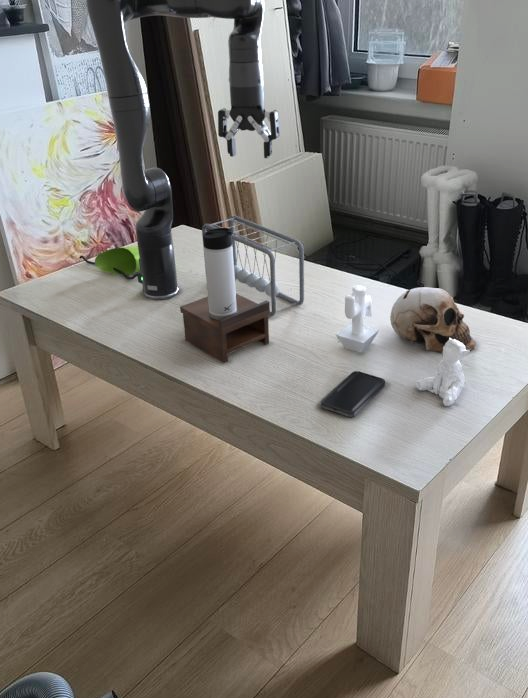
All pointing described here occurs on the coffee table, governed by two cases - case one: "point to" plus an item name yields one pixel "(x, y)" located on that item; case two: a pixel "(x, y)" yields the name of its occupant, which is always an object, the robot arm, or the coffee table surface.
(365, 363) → the coffee table surface
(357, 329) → the figurine
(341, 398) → the phone
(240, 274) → the newton's cradle
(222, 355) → the brown wooden stand
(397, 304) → the coin bank
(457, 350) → the white creature statuette
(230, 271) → the travel mug
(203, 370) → the coffee table surface
